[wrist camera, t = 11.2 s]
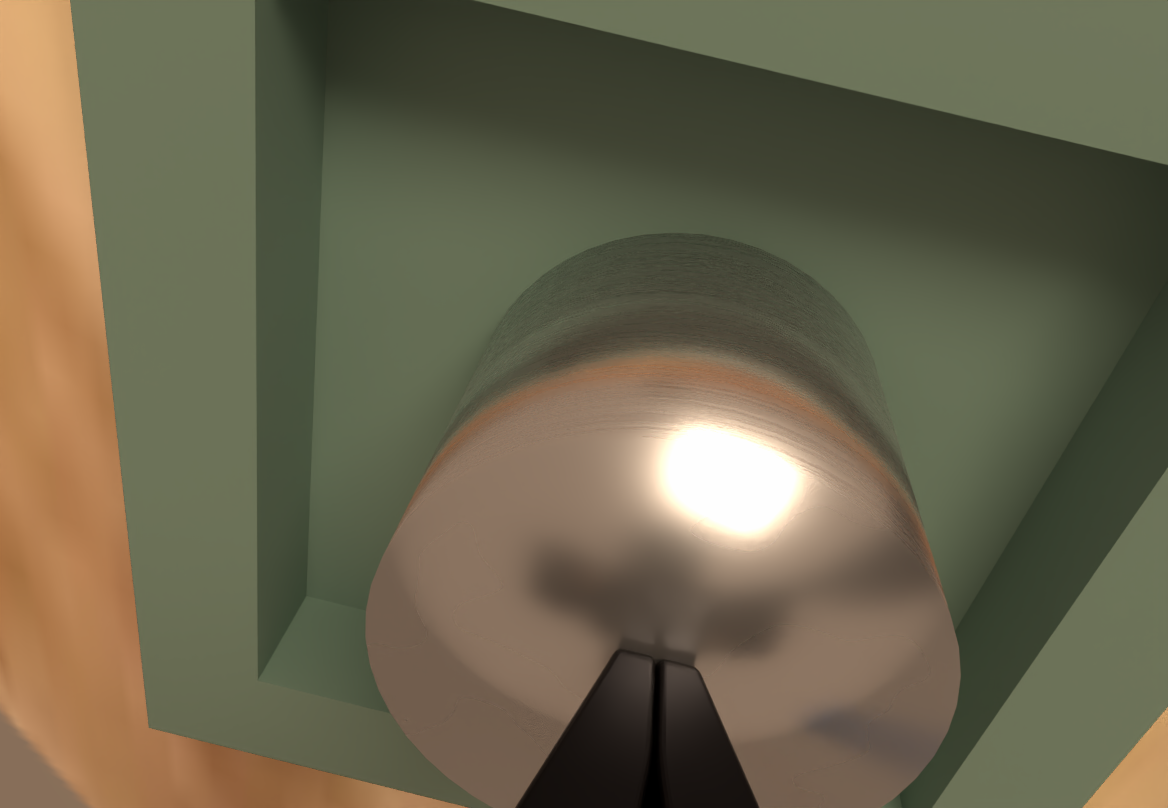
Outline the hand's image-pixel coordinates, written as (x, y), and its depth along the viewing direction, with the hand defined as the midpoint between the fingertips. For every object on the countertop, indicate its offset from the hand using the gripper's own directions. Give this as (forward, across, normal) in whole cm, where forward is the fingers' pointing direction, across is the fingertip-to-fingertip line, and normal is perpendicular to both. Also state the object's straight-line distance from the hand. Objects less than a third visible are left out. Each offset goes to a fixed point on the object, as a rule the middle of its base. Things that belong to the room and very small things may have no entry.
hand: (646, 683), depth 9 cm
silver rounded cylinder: (+5, 0, 0) cm, 5 cm away
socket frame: (+6, 0, 0) cm, 6 cm away
